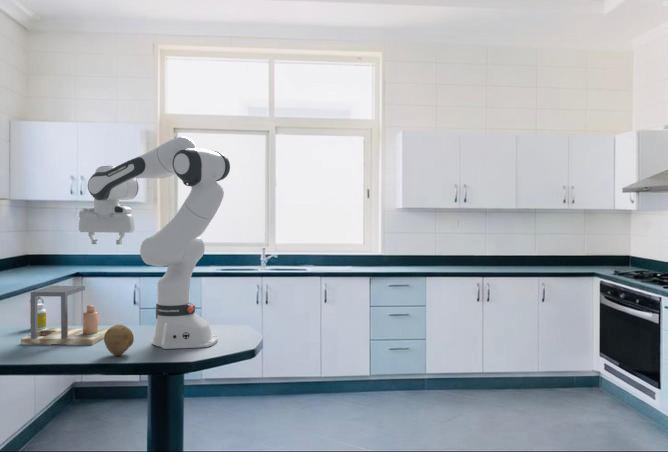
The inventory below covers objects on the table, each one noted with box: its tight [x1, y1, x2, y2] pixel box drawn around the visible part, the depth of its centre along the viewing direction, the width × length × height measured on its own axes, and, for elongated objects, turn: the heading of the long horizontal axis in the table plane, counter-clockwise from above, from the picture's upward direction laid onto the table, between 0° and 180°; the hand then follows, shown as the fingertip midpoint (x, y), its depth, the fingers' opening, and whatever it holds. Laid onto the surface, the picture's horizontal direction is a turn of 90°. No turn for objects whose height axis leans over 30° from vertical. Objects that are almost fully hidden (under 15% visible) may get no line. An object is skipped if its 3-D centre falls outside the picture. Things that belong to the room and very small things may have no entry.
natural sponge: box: [103, 324, 135, 357], centre depth 169 cm, size 9×9×10 cm
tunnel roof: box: [30, 285, 86, 339], centre depth 188 cm, size 12×15×16 cm
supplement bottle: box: [29, 302, 47, 331], centre depth 204 cm, size 5×5×10 cm
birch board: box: [20, 327, 109, 346], centre depth 188 cm, size 25×16×2 cm, turn 91°
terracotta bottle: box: [82, 304, 99, 334], centre depth 189 cm, size 5×5×10 cm
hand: (106, 244), depth 199 cm, fingers open, 8 cm apart
